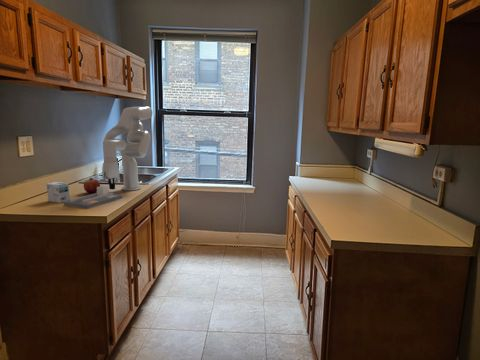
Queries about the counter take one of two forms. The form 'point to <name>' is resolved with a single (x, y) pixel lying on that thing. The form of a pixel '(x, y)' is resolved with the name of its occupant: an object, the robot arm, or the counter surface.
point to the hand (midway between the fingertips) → (112, 189)
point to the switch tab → (102, 190)
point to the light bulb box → (58, 192)
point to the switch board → (92, 200)
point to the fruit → (91, 185)
